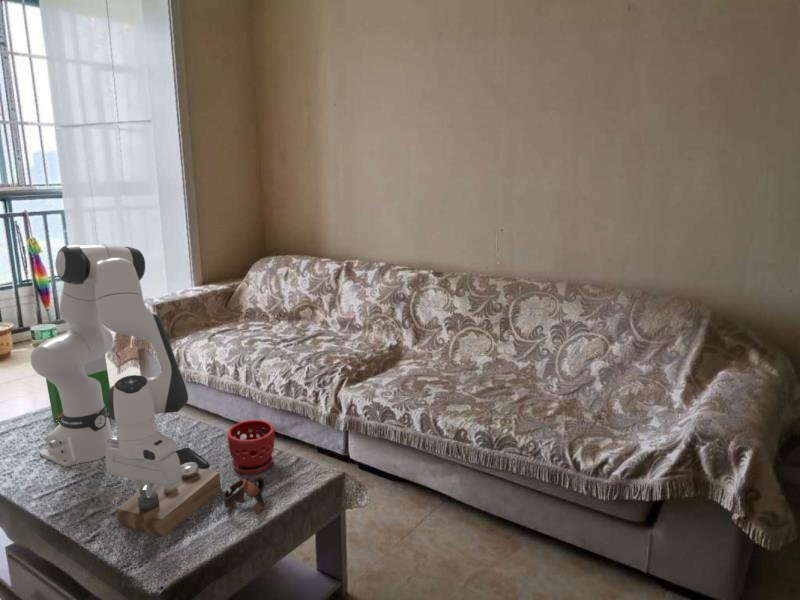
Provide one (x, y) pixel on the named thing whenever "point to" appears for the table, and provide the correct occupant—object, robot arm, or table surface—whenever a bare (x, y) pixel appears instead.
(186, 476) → the silver knob
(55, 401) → the hardback book
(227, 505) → the brown open round fixture
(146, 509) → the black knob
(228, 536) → the table surface
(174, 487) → the dial
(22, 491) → the table surface
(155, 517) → the mount
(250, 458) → the plant pot
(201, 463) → the phone
